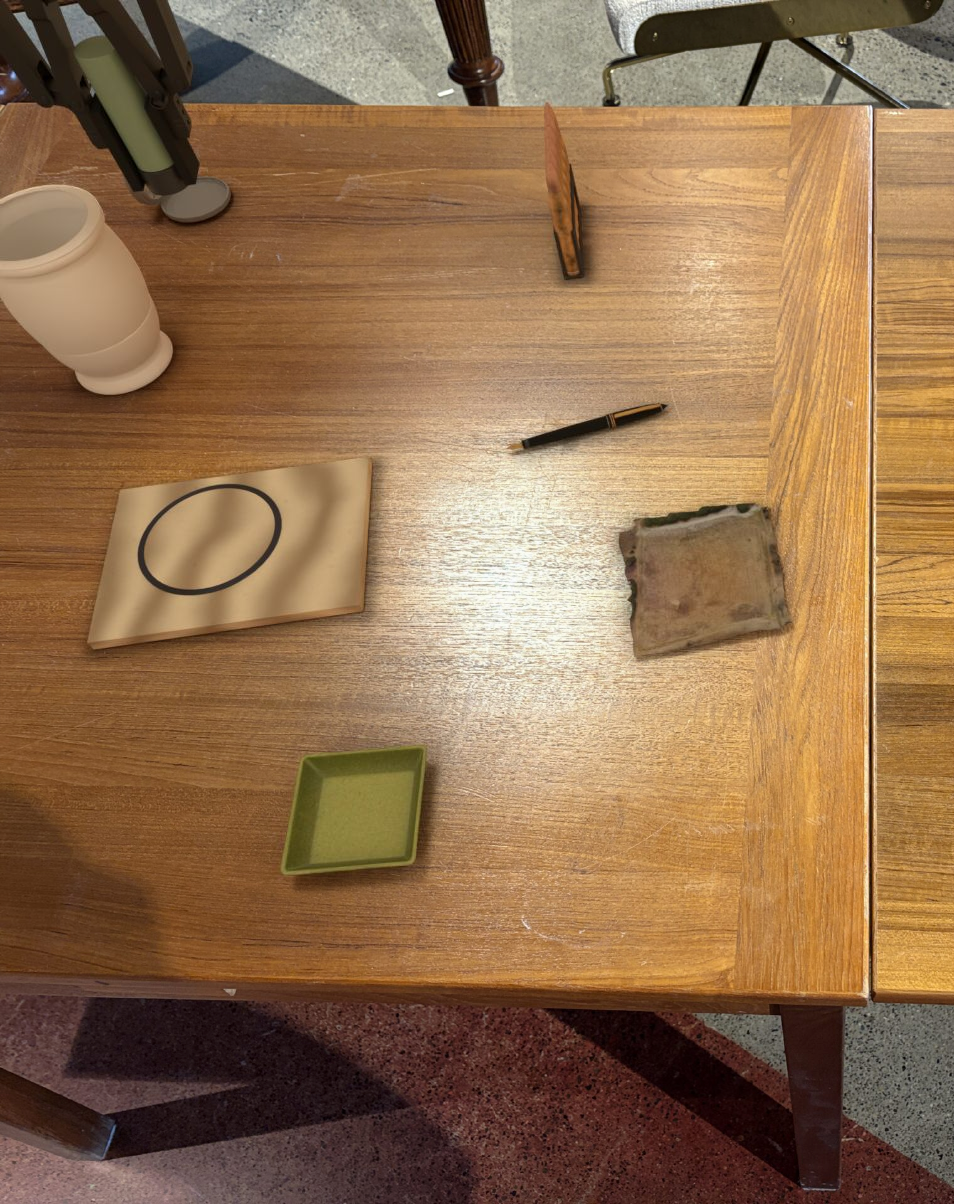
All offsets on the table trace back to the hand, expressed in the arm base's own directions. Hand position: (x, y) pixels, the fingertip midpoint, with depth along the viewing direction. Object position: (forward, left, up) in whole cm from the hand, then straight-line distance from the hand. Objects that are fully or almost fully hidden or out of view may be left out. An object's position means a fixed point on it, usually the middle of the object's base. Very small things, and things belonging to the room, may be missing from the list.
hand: (166, 176), depth 89 cm
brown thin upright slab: (+28, +11, -19) cm, 36 cm away
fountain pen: (+28, -15, -19) cm, 37 cm away
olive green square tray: (+11, -47, -19) cm, 52 cm away
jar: (-12, +1, -19) cm, 22 cm away
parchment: (+36, -31, -19) cm, 52 cm away
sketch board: (0, -22, -19) cm, 29 cm away
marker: (0, 0, -1) cm, 1 cm away
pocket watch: (-10, +24, -19) cm, 32 cm away
